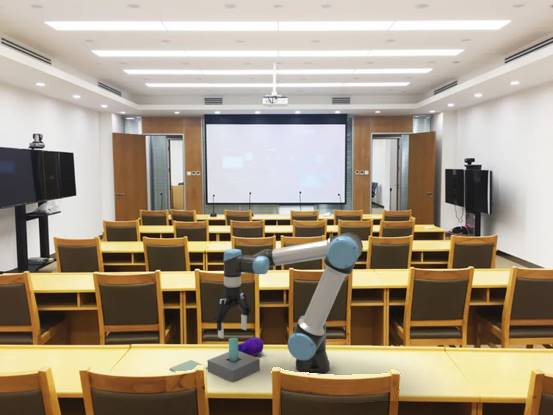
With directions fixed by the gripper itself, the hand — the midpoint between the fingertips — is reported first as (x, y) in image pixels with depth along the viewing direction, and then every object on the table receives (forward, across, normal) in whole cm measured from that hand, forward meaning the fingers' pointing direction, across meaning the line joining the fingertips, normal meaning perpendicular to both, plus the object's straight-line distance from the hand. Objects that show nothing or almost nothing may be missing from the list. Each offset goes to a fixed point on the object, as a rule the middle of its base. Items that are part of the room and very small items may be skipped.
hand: (232, 333), depth 204 cm
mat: (+17, +12, -16) cm, 26 cm away
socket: (+17, 0, 0) cm, 17 cm away
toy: (+17, -16, -8) cm, 25 cm away
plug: (+17, 0, 0) cm, 17 cm away
